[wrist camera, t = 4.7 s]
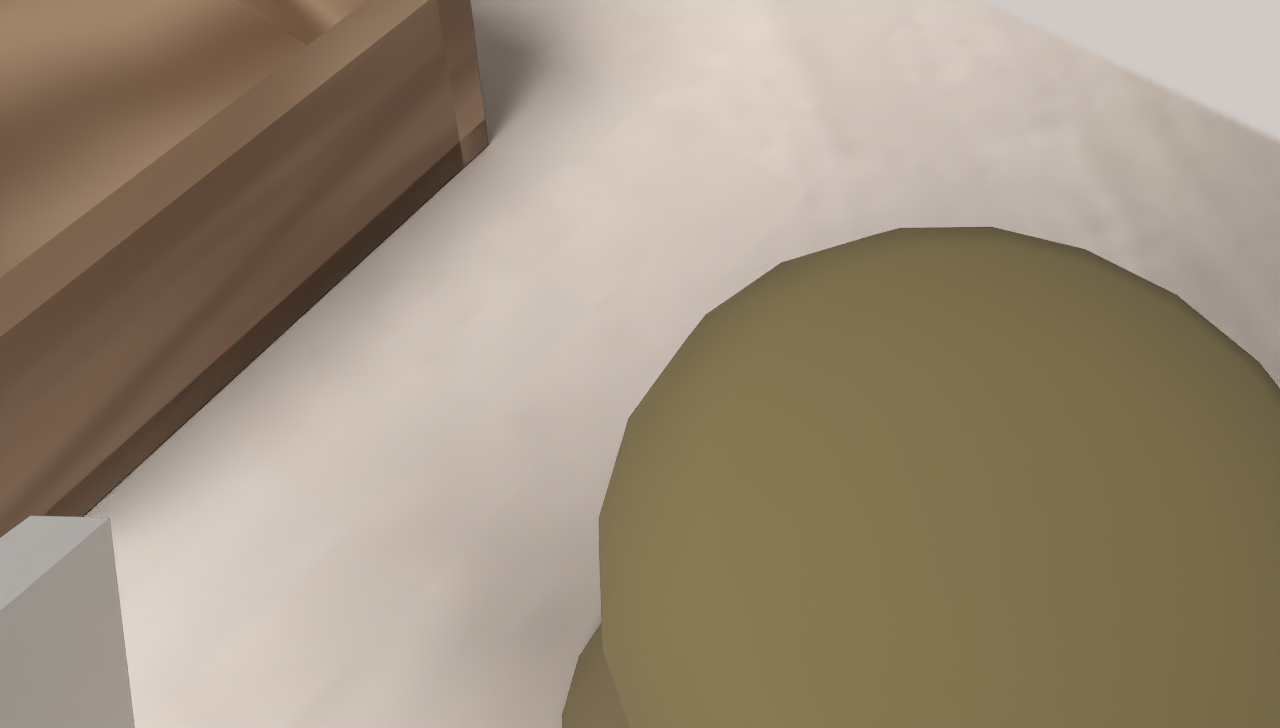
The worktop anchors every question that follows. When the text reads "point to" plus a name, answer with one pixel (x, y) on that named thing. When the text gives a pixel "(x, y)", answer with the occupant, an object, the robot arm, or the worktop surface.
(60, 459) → the walnut crate
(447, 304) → the worktop surface
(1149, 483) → the cork
